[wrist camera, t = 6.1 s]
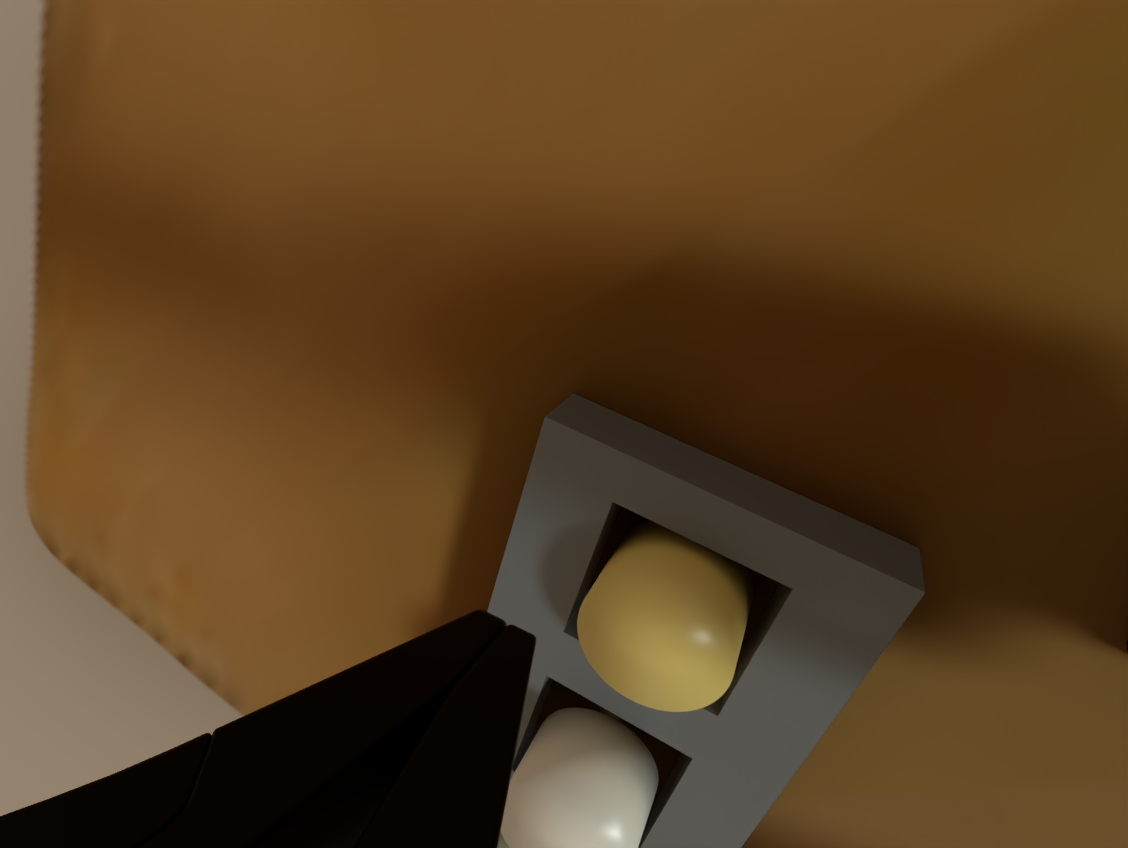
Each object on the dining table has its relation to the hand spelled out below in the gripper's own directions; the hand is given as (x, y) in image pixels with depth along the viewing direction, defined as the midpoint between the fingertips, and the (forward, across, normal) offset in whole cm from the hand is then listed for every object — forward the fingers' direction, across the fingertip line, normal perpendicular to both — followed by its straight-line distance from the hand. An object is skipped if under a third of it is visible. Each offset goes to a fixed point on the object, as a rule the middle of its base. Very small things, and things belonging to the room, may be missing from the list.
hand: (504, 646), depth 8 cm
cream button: (+9, -1, +13) cm, 16 cm away
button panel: (+11, -1, +13) cm, 17 cm away
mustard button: (+10, -2, +6) cm, 12 cm away
